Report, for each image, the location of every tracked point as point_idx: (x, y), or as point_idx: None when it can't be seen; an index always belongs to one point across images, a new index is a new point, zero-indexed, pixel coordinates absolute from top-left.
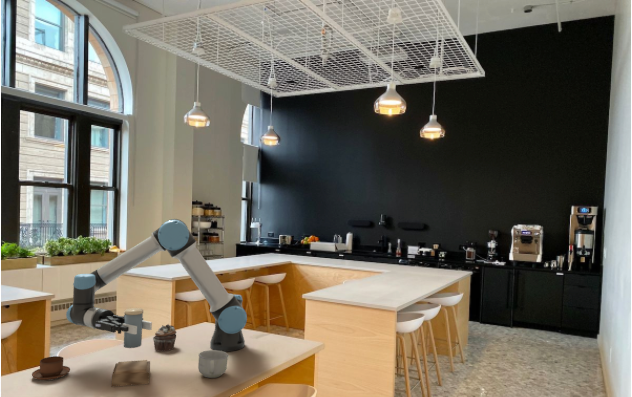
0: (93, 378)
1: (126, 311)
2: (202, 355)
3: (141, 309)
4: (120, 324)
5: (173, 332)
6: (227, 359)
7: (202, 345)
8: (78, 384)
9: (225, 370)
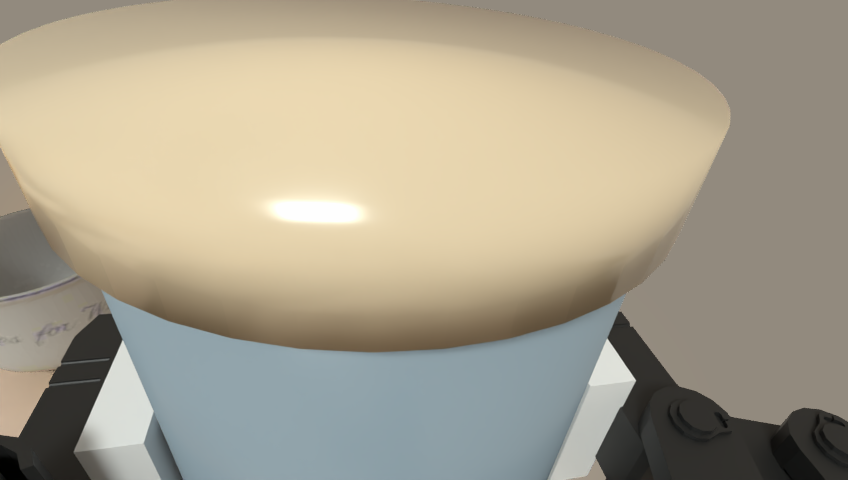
0: None
1: (659, 62)
2: (7, 313)
3: (168, 12)
4: (678, 400)
5: None
6: (34, 227)
7: None
8: None
9: (68, 270)
